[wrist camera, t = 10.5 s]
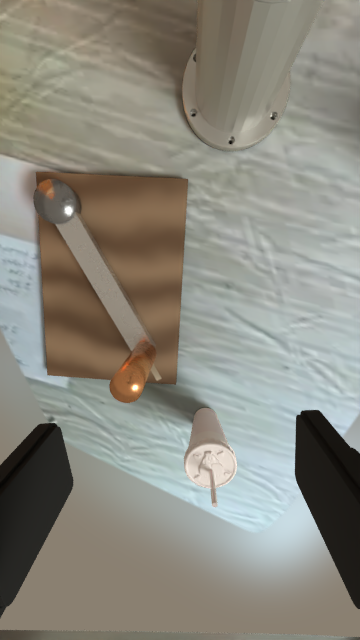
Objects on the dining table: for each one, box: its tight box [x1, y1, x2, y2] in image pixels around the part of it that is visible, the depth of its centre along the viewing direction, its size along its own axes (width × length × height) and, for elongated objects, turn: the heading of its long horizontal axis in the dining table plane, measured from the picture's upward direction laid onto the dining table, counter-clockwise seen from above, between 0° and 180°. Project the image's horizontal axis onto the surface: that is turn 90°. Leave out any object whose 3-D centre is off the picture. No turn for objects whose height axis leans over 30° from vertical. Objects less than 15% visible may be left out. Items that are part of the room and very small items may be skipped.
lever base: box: [36, 172, 188, 385], centre depth 34 cm, size 28×20×1 cm
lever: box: [34, 179, 157, 403], centre depth 27 cm, size 26×5×12 cm, turn 29°
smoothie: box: [184, 408, 237, 507], centre depth 31 cm, size 6×6×14 cm
